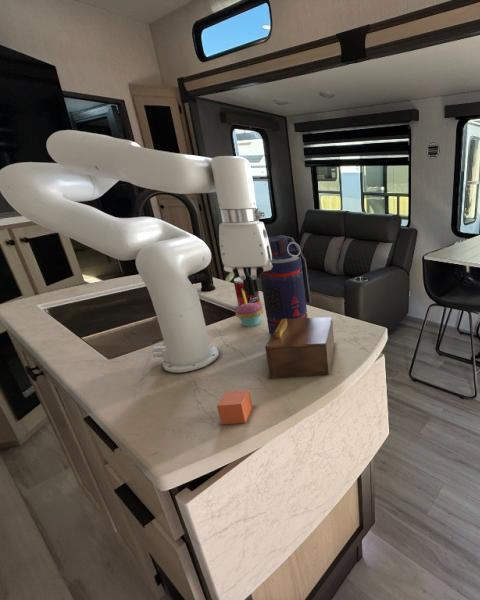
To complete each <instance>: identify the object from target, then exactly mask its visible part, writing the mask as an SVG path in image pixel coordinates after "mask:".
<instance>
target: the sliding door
mask: <svg viewBox="0 0 480 600" xmlns="http://www.w3.org/2000/svg"><path fill="white" fill-rule="evenodd" d="M331 322H332V323H333V316H322V317H307V318H297V319H281V321H280V322H279V324H278V326H277V327H276V329H275V331H274V332H273V334H272V335H271V336H270V338H269V339H268V341H267V342H266V344H265V346H264V349H265V350H266V349H269V348H288V347H307V346H326V344H327V340H328V335H329V331H330V326H331Z"/></svg>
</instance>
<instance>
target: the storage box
mask: <svg viewBox="0 0 480 600" xmlns="http://www.w3.org/2000/svg"><path fill="white" fill-rule="evenodd" d="M334 338H335V336H334V323H333V321H332V322H331V326H330V331H329V335H328V340H327V344H326V346H307V347H288V348H269V349H265V355H266V360H267V366H268V367H267V368H268V373H269V378H270V379H279V378H296V377H309V376H310V377H311V376H326V375H327V376H328V375H330V370H331V365H332V360H333V359H332V358H333V354H334V347H335V339H334Z"/></svg>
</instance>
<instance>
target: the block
mask: <svg viewBox="0 0 480 600" xmlns="http://www.w3.org/2000/svg"><path fill="white" fill-rule="evenodd" d="M221 397H222V398H221V399H220V400H219V402H218V403H217V405H216V407H217V411H218V415H219V419H220V424H221V425H232V424H233V425H235V424H243V423H244V424H245V423H247V420H248V418H249V416H250V414H251V412H252V410H253V405H252V404H253V403H252V398H251V394H250V390H249V389H247V390H246V389H244V390H228V391H225V393H224V394H223V396H221Z"/></svg>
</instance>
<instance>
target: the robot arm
mask: <svg viewBox="0 0 480 600" xmlns="http://www.w3.org/2000/svg"><path fill="white" fill-rule="evenodd" d="M45 145H46V149H47V150H46V151H47V153H48V155H49V156H50V157H51V159H52V160H53V161H54V162H34V161H28V162H27V161H26V162H23V161H22V162H16V163H12V164H9V165H6V166H4V167H2V168H1V169H0V193H1V195H2V196H3V198H4V199H5V200H6V202H7V203H8V204H9V205H10V206H11V207H12V208H13V210H15V211H16V213H19V215H21V216H23V217H24V218H25V219H27V220H29V221H30V222H32V223H34V224H36V225H38V226H39V227H40V226H41V227H43V228H45V229H46V230H50V231H53V232H55V233H58V234H59V235H62V236H65V237H67V238H70V239H72V240H74V241H76V242H78V243H80V244H82V245H85V246H86V247H89V248H91V249H93V250H95V251H98V252H100V253H101V254H104V255H106V256H109V257H110V258H112V259H115V260H119V261H133V260H135V267H136V270H137V273H138V274H139V276H140V278H141V279H142V281H143V283H144V285H145V286H146V289H147V291H148V293H149V296H150V299H151V302H152V306H153V309H154V312H155V315H156V319H157V322H158V325H159V329H160V333H161V337H162V340H163V343H164V346H162V345H161V346H160V345H159V346H154V347H153V349H152V357H153V358H163V359H164V360H163V362H162V367H163V369H164V370H165V372H169V373H175V374H176V373H178V374H179V373H188V372H193V371H196V370H199V369H202V368H205V367H206V366H208V365H210V364H212V363H213V362H215V361H216V360H217V358H218V357H219V355H220V352H219V349H218V347H216V346H214V345H211V343H210V338H209V333H208V329H207V325H206V321H205V317H204V313H203V308H202V304H201V299H200V296H199V293H198V290H197V289H196V287H195V285H194V284H193V283H192V282H191V281H190V278H189V276H191V275H193V274H196V273H198V272H200V271H202V270H204V269H206V268H207V267H208V266H209V265H210V263H211V261H212V252H211V249H210V248H209V246H208V245H207V244H206V243H205V242H204V240H202V239H201V238H199V237H198V236H196V235H193V234H192V233H189V232H188V231H186V230H183V229H182V228H179V227H178V226H175V225H173V224H171V223H169V222H167V221H165V220H162V219H160V218H156V217H152V216H137V217H136V216H135V217H115V216H113V215H111V214H108V213H105V212H104V211H101V210H100V209H98V208H96V207H93V206H91V205H87V204H85V203H81V202H88V201H94V200H96V199H100V197H102V196H104V194H105V193H107V192H108V191H109V190H110V189H111V188H112V187H113V186H114V185H116V184H117V183H118V182H119V181H121V182H126V183H130V184H131V185H134V186H136V187H139V188H145V189H149V190H154V191H160V192H166V193H170V194H171V193H173V194H180V195H189V194H211V193H215V194H216V197H217V203H218V209H219V214H220V219H221V223H219V224H218V225H219V227H218V228H219V229H218V233H219V234H218V237H219V238H218V242H219V249H220V250H219V251H220V256H221V257H220V258H221V261H222V264H223V271H224V272H227V273H233V274H235V275H236V276H238V277H240V279H241V280H243V284H244V289H245V292H247V296H251V295H253V296H255V295H256V294H257V293H258V292H259V293H260V290H261V286H260V285H261V284H260V274H261V273H262V272H265V271H269V270H271V269H272V268H273V265H272V263H271V260H272V254H271V249H270V244H269V240H268V238H269V237H268V233H267V229H266V227H265V223H264V222H263V221H260V220H261V218H265V217H266V216H265V211H263V210H259V208H258V206H257V200H256V192H255V186H254V185H255V184H254V179H253V173H252V172H253V171H252V166H251V163H250V161H249V160H248V159H247V158H246V157H242V156H234V155H220V156H214V157H208V156H201V155H193V154H188V153H187V154H186V153H177V152H170V151H165V150H158V149H154V148H153V149H152V148H147V147H142V146H141V145H140V144H138V143H137V142H135V141H133V140H129V139H124V138H123V139H122V138H117V137H113V136H110V135H106V134H101V133H100V134H99V133H93V132H88V131H81V130H73V129H66V130H65V129H64V130H58V131H55V132H53V133H52V134H51V135H50V136H49V137H48V138H47V140H46V144H45ZM249 268H250V272H249V270H248V269H249ZM250 276H251V277H250Z"/></svg>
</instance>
